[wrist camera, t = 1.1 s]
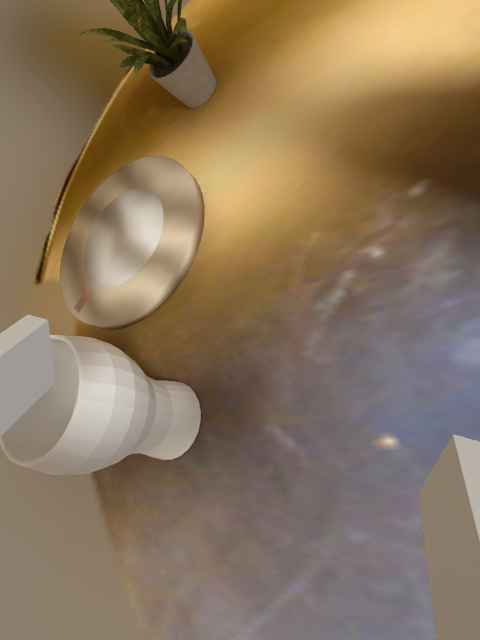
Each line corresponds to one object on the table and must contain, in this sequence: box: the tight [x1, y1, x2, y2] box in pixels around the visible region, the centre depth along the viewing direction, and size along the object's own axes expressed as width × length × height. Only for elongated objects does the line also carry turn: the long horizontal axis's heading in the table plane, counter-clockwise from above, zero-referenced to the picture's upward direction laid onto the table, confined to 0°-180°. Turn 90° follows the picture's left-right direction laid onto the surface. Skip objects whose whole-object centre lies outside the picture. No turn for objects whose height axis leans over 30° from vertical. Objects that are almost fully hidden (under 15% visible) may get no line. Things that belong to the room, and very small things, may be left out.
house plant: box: [79, 0, 216, 108], centre depth 49 cm, size 14×14×16 cm
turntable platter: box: [60, 156, 204, 329], centre depth 51 cm, size 22×22×2 cm
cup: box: [0, 335, 201, 475], centre depth 37 cm, size 11×11×15 cm
